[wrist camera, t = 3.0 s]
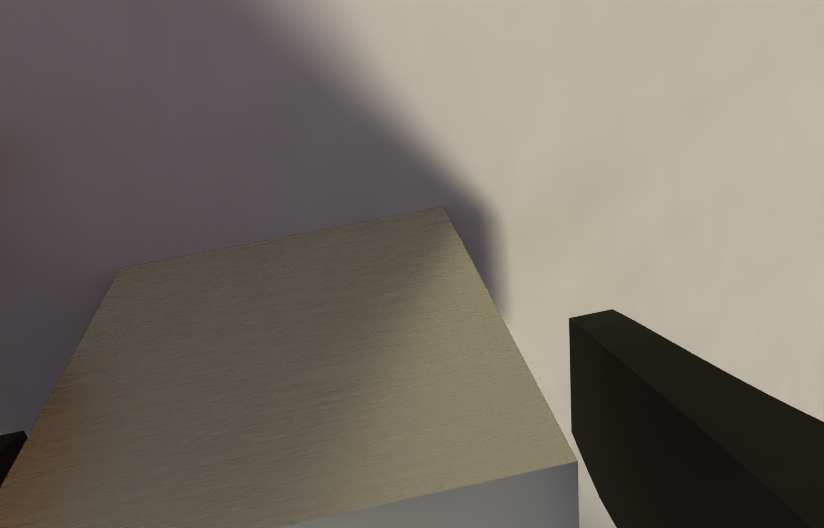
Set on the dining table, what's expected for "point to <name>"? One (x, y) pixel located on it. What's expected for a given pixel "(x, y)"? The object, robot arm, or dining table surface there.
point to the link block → (299, 396)
